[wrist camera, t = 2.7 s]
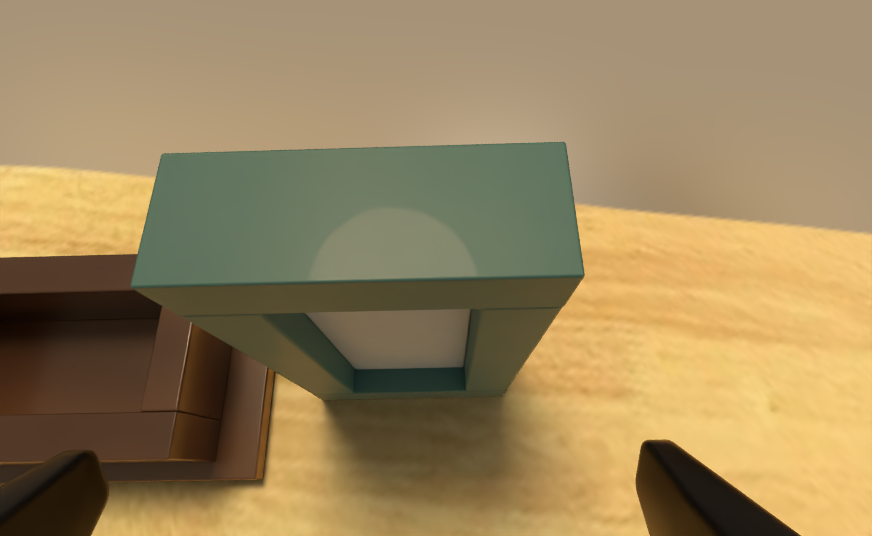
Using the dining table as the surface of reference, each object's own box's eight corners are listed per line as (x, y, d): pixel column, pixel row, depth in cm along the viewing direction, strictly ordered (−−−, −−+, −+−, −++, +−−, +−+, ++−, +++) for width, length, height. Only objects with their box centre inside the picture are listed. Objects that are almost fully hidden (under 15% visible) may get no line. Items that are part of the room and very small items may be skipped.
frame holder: (263, 479, 18) (215, 480, 14) (-112, 486, 18) (-254, 489, 15) (285, 276, 21) (250, 234, 17) (-36, 284, 21) (-137, 245, 18)
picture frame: (502, 396, 19) (586, 276, 7) (322, 400, 19) (127, 288, 8) (498, 333, 20) (566, 140, 8) (326, 337, 20) (160, 152, 9)
